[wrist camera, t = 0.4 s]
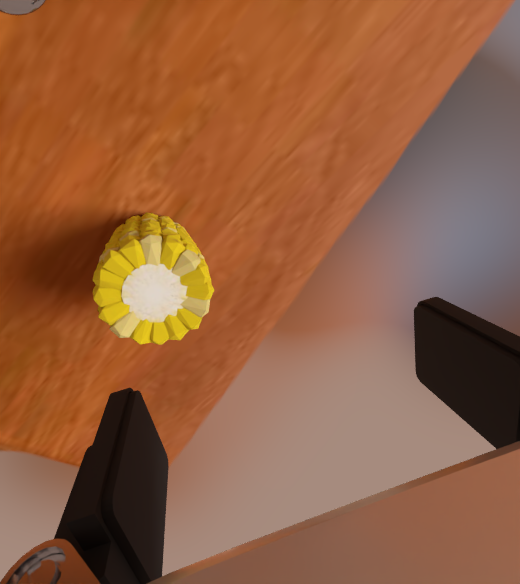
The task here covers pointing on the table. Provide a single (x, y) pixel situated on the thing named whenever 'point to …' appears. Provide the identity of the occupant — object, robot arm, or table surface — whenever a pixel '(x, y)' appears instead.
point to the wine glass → (20, 6)
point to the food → (152, 281)
